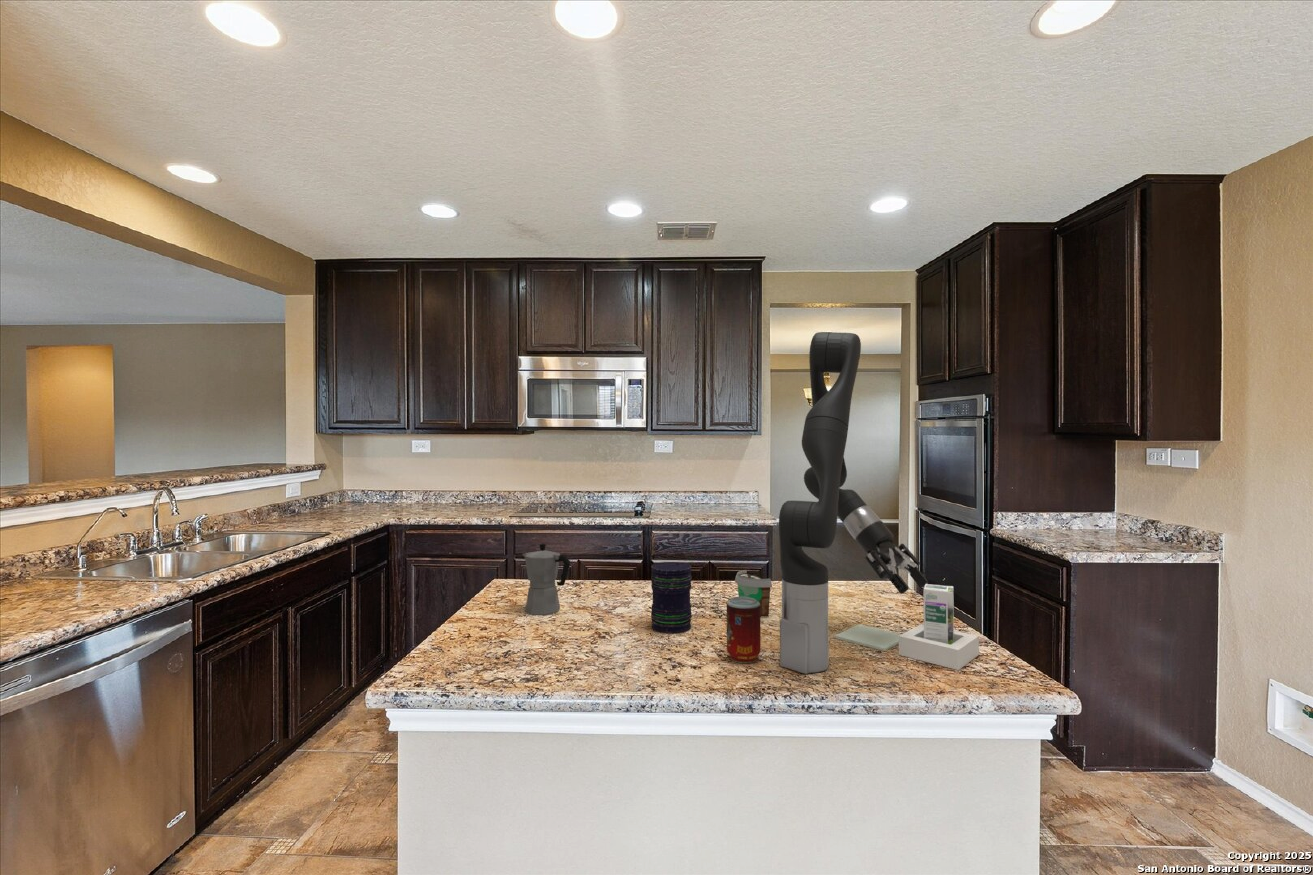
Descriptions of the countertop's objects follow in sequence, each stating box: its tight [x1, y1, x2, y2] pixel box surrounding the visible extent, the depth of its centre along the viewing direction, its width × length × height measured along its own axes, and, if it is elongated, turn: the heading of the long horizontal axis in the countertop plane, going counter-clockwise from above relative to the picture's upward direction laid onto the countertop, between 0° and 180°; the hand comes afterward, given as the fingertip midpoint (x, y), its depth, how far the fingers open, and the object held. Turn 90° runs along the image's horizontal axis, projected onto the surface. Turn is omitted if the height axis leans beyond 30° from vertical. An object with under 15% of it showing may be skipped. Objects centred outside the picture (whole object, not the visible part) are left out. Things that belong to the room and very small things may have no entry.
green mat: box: [833, 623, 902, 652], centre depth 139 cm, size 12×12×1 cm
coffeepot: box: [522, 543, 571, 616], centre depth 161 cm, size 15×9×18 cm, turn 62°
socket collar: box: [898, 623, 980, 671], centre depth 128 cm, size 12×12×4 cm
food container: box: [734, 569, 773, 617], centre depth 159 cm, size 12×6×10 cm, turn 25°
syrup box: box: [922, 583, 955, 645], centre depth 128 cm, size 6×6×14 cm
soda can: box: [726, 596, 762, 664], centre depth 127 cm, size 7×7×12 cm
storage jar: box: [650, 561, 692, 635], centre depth 147 cm, size 10×10×15 cm
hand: (915, 588), depth 132 cm, fingers open, 8 cm apart
